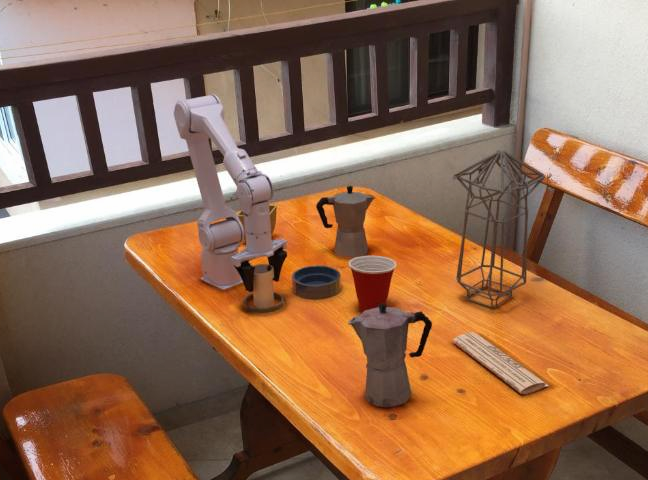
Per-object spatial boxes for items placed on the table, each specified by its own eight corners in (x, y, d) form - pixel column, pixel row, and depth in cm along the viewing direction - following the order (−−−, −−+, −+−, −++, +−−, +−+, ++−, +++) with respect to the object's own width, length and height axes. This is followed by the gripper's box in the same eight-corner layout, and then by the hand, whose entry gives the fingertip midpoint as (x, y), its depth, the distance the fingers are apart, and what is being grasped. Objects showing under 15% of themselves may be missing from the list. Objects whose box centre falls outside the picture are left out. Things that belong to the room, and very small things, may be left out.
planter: (282, 290, 208) (281, 275, 206) (318, 276, 215) (317, 261, 213) (315, 305, 201) (314, 290, 199) (350, 290, 208) (350, 274, 206)
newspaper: (452, 344, 184) (452, 336, 183) (479, 336, 187) (480, 329, 186) (520, 396, 167) (521, 388, 166) (549, 386, 169) (550, 378, 168)
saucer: (235, 306, 202) (235, 300, 201) (266, 293, 207) (266, 287, 206) (261, 318, 196) (260, 313, 195) (292, 305, 201) (292, 299, 201)
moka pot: (348, 385, 171) (346, 294, 160) (425, 380, 172) (427, 289, 161) (352, 411, 163) (350, 317, 152) (433, 406, 164) (436, 313, 153)
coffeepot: (371, 242, 232) (370, 178, 223) (379, 256, 224) (379, 189, 215) (315, 248, 230) (312, 183, 220) (321, 262, 222) (319, 195, 212)
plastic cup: (403, 304, 201) (404, 256, 195) (385, 324, 193) (385, 275, 186) (361, 296, 205) (360, 249, 198) (341, 315, 197) (340, 267, 190)
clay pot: (247, 304, 201) (244, 268, 197) (265, 296, 205) (263, 261, 200) (262, 311, 198) (259, 276, 193) (281, 303, 201) (278, 268, 196)
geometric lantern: (483, 278, 212) (493, 136, 193) (537, 298, 202) (552, 150, 184) (442, 299, 203) (448, 152, 184) (495, 320, 193) (508, 167, 175)
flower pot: (270, 248, 230) (267, 216, 225) (239, 246, 232) (236, 214, 227) (279, 236, 237) (277, 205, 233) (248, 234, 239) (246, 203, 234)
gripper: (243, 244, 185) (248, 301, 192) (294, 225, 193) (297, 280, 201) (223, 235, 189) (229, 291, 196) (274, 217, 198) (277, 272, 205)
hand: (262, 285), depth 199 cm, fingers open, 7 cm apart
